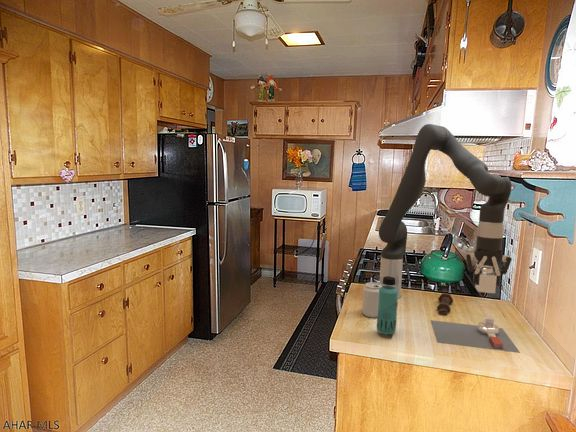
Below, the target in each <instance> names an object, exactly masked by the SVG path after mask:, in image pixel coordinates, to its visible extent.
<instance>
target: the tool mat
mask: <svg viewBox="0 0 576 432" xmlns="http://www.w3.org/2000/svg"><path fill="white" fill-rule="evenodd" d="M429 322H430V324H431V326H432V329H433V334H434V336H435V340H436V343H438V344H446V345H452V346H453V345H455V346H460V347H461V346H462V347H469V348H477V349H486V350H487V349H488V350H494V351H500V352H509V353H519V354H521V352H520V350H519V349H518V347H517V346H516V345H515V343H514V342H513V340H512V339H511V338H510V337H509V335H508V334H507V333H506V331H505V329H503V328H502V327H499V332H498V336H496V337H498V338H499V339H500V341H501V342H502V343H503V349H497V348H493V347H492V345H491V343H490V342H489V338H488V337H487V336H486V335H483V334H481V333H479V332H478V331H477V328H478V324H477V325H474V324H468V323H467V324H465V323H460V322H459V323H457V322H451V321H449V322H448V321H440V320H432V319H430V321H429Z"/></svg>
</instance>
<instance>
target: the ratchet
mask: <svg viewBox="0 0 576 432" xmlns="http://www.w3.org/2000/svg"><path fill="white" fill-rule="evenodd" d="M494 323H495V320H494V318H493V317H492V316H488V315H487V316H486V315H485V316H483V322H482V321H481V322H478V323H477V326H478V328H477V331H478V332H479V333H481V334H483V335H486V336H487V337H488V338H489V342H490V343H491V345H492V347H493V348H497V349H503V343H502V342H501V341H500V339H499V338H498V337H496V336H498V332H499V328H500V327H499V326H498V325H496V324H494Z"/></svg>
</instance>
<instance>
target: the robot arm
mask: <svg viewBox="0 0 576 432" xmlns="http://www.w3.org/2000/svg"><path fill="white" fill-rule="evenodd" d="M431 150H432V151H438V152H441V153H443V154H444V155H446V156H448V157H449V158H450V160H451V162H452V164H453V166H454V167H455V169H457V170H458V171H459V172H460V173H461V174H462V175H463V176H464V177H466V178H467V179H468V180H469V182H470V183H471V185H472V186H473V188H474V189H475V190H476V191H477V192H478V194H481V195H483V196H485V197H488V200H487V201H486V202H485V203H483V204H481V205H480V207H479V217H478V224H477V230H476V231H477V232H476V243H475V245H476V246H475V250H474V252H471V253H468V252H466V253H465V254H464V257H465V261H466V267H467V268H466V269H467V270H468V271H469V272H470V273H473V274H472V275H473V276H472V282H473V284H474V285H475V284H476V285H478V279H479V274H478V273H479V271H480V269H481V268H482V266H483V265H484V266H491V267H493V268H494V273H495V274H496V275H497V279H496V288H497V286H499V284H500V277H501V276H502V275H507V273H508V271H509V268H510V266H511V262H512V260H513V259H512V257H511V256H509V255H504V254H503V253H502V250H503V239H504V238H503V237H504V217H505V216H504V215H505V208H506V207H507V204H508V202H509V198H510V195H511V192H512V189H513V187H512V186H513V185H512V181H511V179H510V177H508V176H507V177H501V176H499V175H498V174H497V173H496V174H493V173H490V172H489V167H488V165H487V164H486V163H485V162H483V161H482V160H481V159H480V158H478V157H477V156H476V155H474V154H473V153H472V152H471V151H469V150H468V149H467V148H466V147H465V146H463V144H462V143H460V141H458V139H457V138H456V137H455V136H454V134H452V132H451V131H450V130H449V129H448V128H447V127H445V126H442V125H438V124H432V123H427V124H424V125H422V127H421V128H420V129H419V130H418V133H417V135H416V138H415V141H414V144H413V148H412V151H411V153H410V157H409V161H408V163H407V166H406V168H405V171H404V173H403V175H402V178H401V181H400V182H399V185H398V186H397V190H396V192H395V195H394V197H393V200H392V201H391V204H390V207H389V208H388V211H387V212H386V214H385V216H384V218H383V220H382V221H381V223H380V226H379V229H378V237H379V239H380V240H381V242H382V243H384V244H385V243H386V245H385V246H384V248H383V249H382V250H381V253H380V268H379V282H378V283H379V284H381V285H382V286H386V285H385V284H383V277H385V276H390V277H394V278H395V285H388V286H393V287H395V288H396V289H397V290H398V297H397V299H400V298H401V295H402V294H401V293H402V279H403V266H404V265H403V263H404V255H405V253H406V249H407V242H408V241H407V240H408V228H407V225H406V224H405V222H403V221H402V220H403V219H404V217H405V215H406V214H407V213H408V212H409V211H410V209H412V207H413V206H414V205H415V204H416V203H417V202H418V201H419V198H420V197H421V195H422V193H423V190H424V188H425V185H426V167H425V166H426V161H427V158H428V155H429V154H430V152H431ZM474 257H475V259H476V260H477V261H476V263H475V266H474V267H473V262H472V261H473V260H474ZM501 260H502V261H501ZM500 261H501V262H503V263H502V265H501V268H499V264H498V263H499V262H500Z"/></svg>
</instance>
